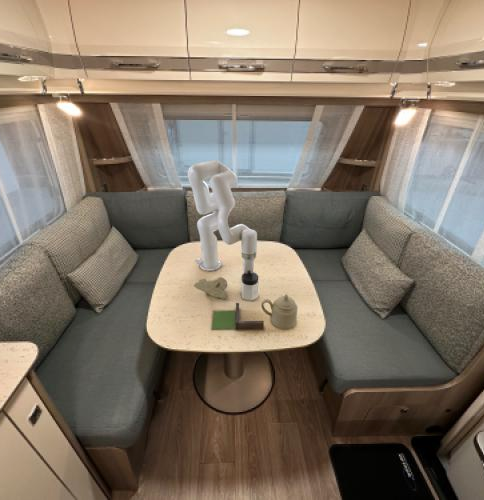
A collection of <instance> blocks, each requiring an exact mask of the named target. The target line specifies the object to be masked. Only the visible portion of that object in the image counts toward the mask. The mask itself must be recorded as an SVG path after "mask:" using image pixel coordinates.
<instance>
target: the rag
mask: <svg viewBox="0 0 484 500" xmlns="http://www.w3.org/2000/svg"><path fill="white" fill-rule="evenodd" d="M211 330H236V310H213V316H212V324H211Z"/></svg>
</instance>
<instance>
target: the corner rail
mask: <svg viewBox="0 0 484 500" xmlns="http://www.w3.org/2000/svg"><path fill="white" fill-rule="evenodd" d="M264 326H265V321H264V320H240V303H239V302H235V331H263V330H264V329H265V328H264Z"/></svg>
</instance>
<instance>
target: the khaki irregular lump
mask: <svg viewBox="0 0 484 500" xmlns="http://www.w3.org/2000/svg"><path fill="white" fill-rule="evenodd" d="M193 287H194V288H195V289H197V290H199V291H201V292H203V293H204V294H205V295H210V296H212V297H213V298H217V299H222V300H227V299H228V294H227V291H226V289H227V287H228V281H227V280H226V278H224V277H222V276H220V277H217V278H215V279H213V280H211V279H210V280H207V279H206V277H204V278H202V279H199V280H198V281H197V282H195V283H194V284H193Z"/></svg>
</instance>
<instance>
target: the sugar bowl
mask: <svg viewBox="0 0 484 500" xmlns="http://www.w3.org/2000/svg"><path fill="white" fill-rule="evenodd" d="M265 303H267V304H269V306H270V310H271V312H270V311H268V310H267V308H266V307H265ZM260 306H261V309H262V311H263V312H264V314H266V315H267V316H268V317H270V319H271V323H272V325H273V326H274V327H276V328H278V329H280V330H290V329H292V328H293V327H294V326H295V325H296V321H297V317H298V309H299V308H298V307H299V306H298V305H297V303H296V301H295V299H293V298H292V297H289V295H288V294H285V295H282V296H279V297H278V298H276V299H275V300H273V302H272V300H271V299H268V298H265V299H262V301H261V305H260Z"/></svg>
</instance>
